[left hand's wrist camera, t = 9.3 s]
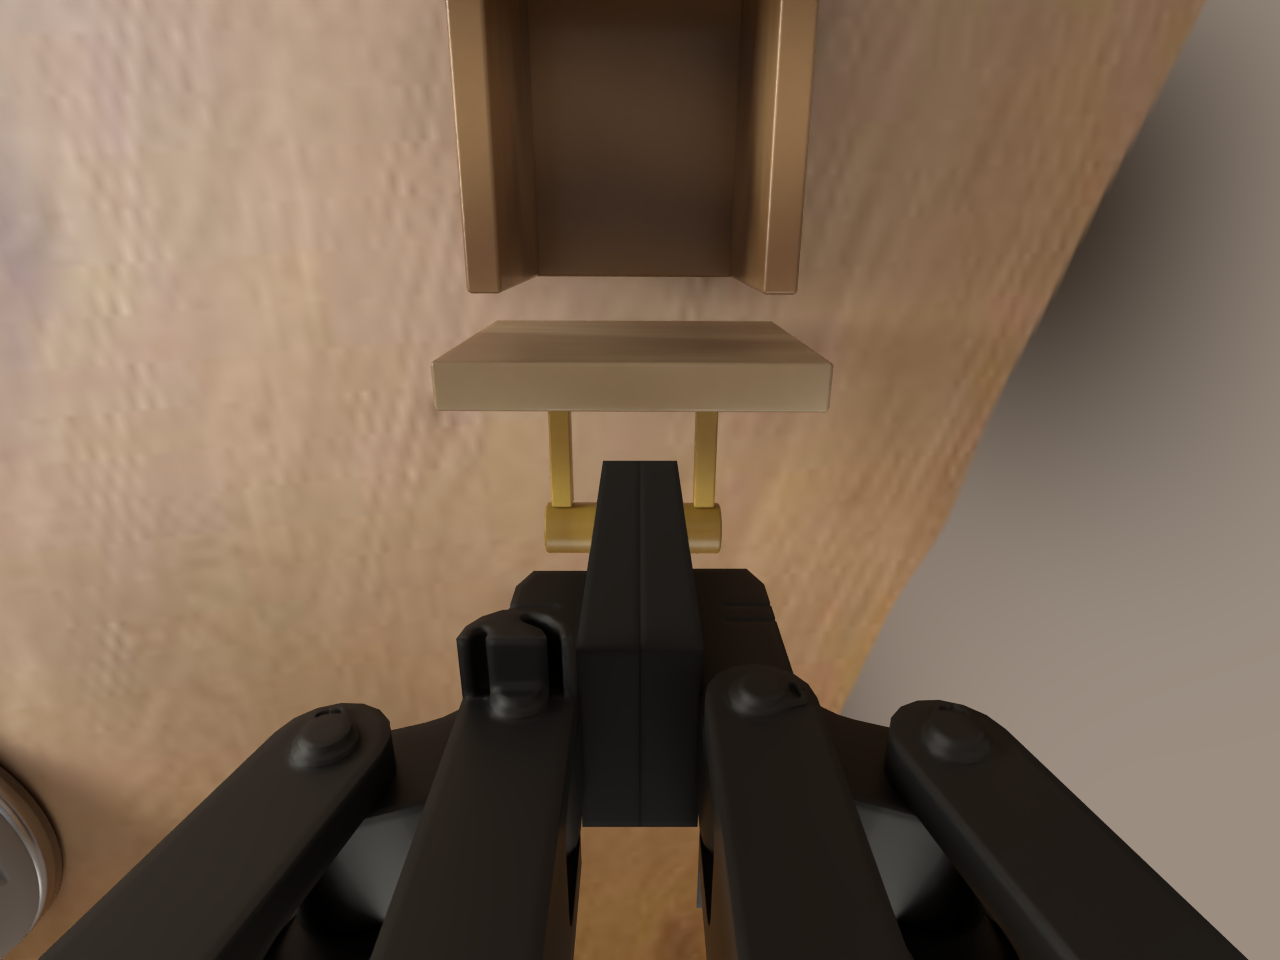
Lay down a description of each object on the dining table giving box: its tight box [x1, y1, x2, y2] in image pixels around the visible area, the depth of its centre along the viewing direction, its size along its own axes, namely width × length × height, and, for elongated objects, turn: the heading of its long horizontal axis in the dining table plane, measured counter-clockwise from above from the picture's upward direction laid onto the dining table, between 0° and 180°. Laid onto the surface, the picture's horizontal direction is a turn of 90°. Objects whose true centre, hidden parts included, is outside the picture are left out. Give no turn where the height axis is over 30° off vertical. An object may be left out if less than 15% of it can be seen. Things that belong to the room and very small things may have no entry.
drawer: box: [431, 0, 833, 553], centre depth 19 cm, size 21×9×8 cm, turn 0°
